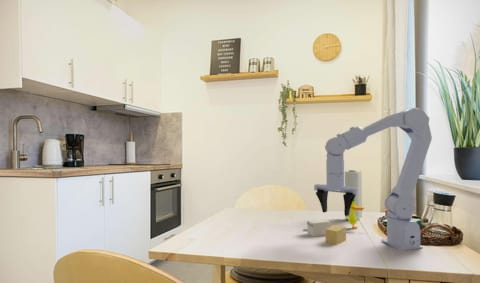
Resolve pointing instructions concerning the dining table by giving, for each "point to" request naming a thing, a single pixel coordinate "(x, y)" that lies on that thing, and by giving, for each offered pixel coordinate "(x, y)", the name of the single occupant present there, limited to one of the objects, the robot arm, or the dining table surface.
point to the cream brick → (317, 227)
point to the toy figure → (353, 214)
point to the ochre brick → (335, 234)
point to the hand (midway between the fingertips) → (335, 213)
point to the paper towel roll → (355, 181)
